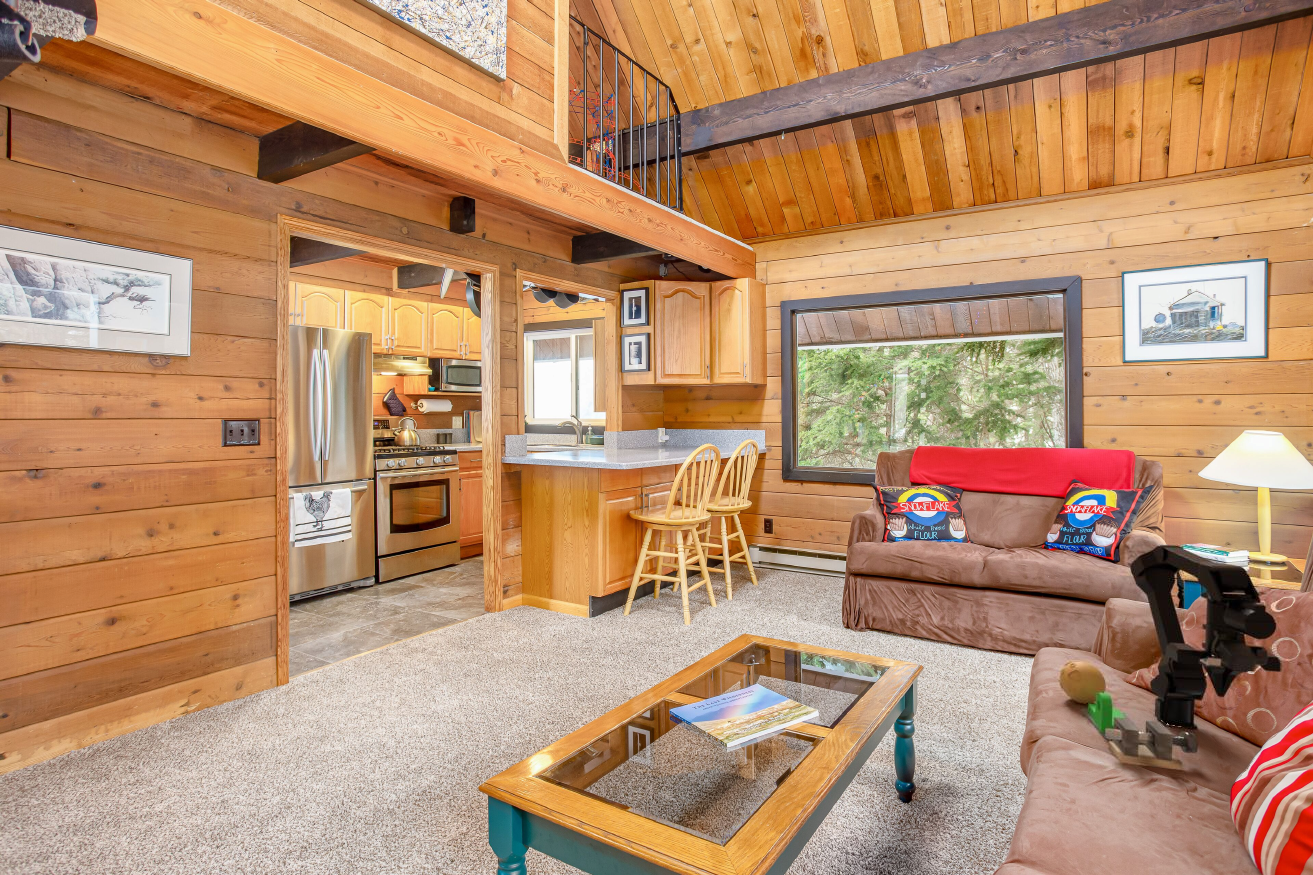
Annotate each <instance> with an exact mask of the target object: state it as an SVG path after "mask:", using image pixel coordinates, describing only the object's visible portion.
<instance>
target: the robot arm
mask: <svg viewBox="0 0 1313 875" xmlns="http://www.w3.org/2000/svg"><path fill="white" fill-rule="evenodd" d="M1129 568H1130V569H1129V571H1130V573H1131V574H1132V577H1133V579H1134V582H1135V585H1136V586H1137V587H1138V588H1139V589H1140V590H1141V591H1142V592H1143V593H1144V594H1145V595H1146V598H1147V600H1148V601H1147V602H1148V605H1149V609H1150V613H1151V617H1152V619H1153V623H1154V627H1155V631H1156V635H1157V639H1158V642H1159V646H1160V650H1161V654H1162V656H1161V658H1160V661H1159V663H1158V666H1157V670H1158V671H1157V672H1158V674H1157V675H1156V676H1155V677H1154V678H1152V680H1150V682H1149V683H1150V689H1151V690H1150V691H1151V692H1152V693H1154V694H1155V695H1156V696H1157V697H1156V698H1155V700H1154V701H1155V702H1154V712H1155V715H1156V716H1157V717H1158V718H1159V719H1160V720H1162V721H1163V722H1164V723H1165V724H1167V723H1168V724H1169V725H1175V726H1181V727H1180V728H1185V727H1186V728H1187V729H1195V730H1196V729H1197V730H1198V727H1199V726H1198V725H1196V724H1195V706H1196V701H1200V702H1201V701H1203V698H1204V696H1205V693H1206V690H1207V687H1208V682H1207V676H1208V677H1209V680H1210V682H1211V685H1212V686H1213V689H1214V692H1215V694H1216V696H1218V698H1225V696H1226V694H1227V693H1228V691H1229V689H1230V687H1231V686H1232V684H1233V682H1234V680H1235V679H1236V678H1237V676H1239V675H1242V674H1244V673H1245V674H1246V673H1249V672H1254V671H1255V669H1256V666H1259V667H1261V669H1262V670H1263V671H1267V672H1277V673H1281V672H1282V668H1283V666H1282V665H1283V664H1282V661H1281V659H1280V658H1279V657H1278V656H1276V655H1274V654H1272V653H1270V652H1269V651H1268V649H1267V648H1266V647H1264V646H1259V645H1247V643H1246V636H1249V637H1250V638H1253V639H1256V640H1266V639H1269V638H1270V637H1272V636H1273V635H1274V634H1275V632H1276V629H1277V622H1276V620H1275V618H1274V616H1273V615H1272V614H1270V613H1269V612H1267V610H1266V609H1267V608H1266V605H1265V604H1261V599H1260V596H1259V595H1260V593H1259V592H1258V590H1257V589H1256V587H1255V586H1254V584H1253V581H1252V579H1251V577H1250V574H1248V572H1247V570H1246V569H1245V568H1244V567H1243V566H1240V565H1236V564H1230V563H1223V562H1222V563H1220V562H1219V563H1218V562H1215V561H1212V560H1210V559H1208V558H1204V557H1202V556H1200V555H1198V554H1196V553H1194V552H1191V551H1189V550H1187V549H1185V548H1184V547H1182V546H1180V545H1176V544H1159V545H1157V546H1155V547H1154V548H1153V549H1152V550H1150V551H1147V552H1145V553H1143V554H1140V555H1138V556H1137V557H1136V558H1135V559H1134V560H1133V561H1132V563H1131V564H1130V567H1129ZM1180 571H1182V572H1184V573H1187V574H1188V575H1191V576H1192V577H1195V579H1197V584H1199V585H1200V586H1201V587H1202V588H1203V589H1205V590H1206V591H1204V592H1202V593H1200V597H1201V598H1204V599H1206V614H1205V616H1206V617H1205V623H1203V624H1202V629H1203V630H1205V642H1201V647H1202V648H1203V649H1196V648H1194V647H1193V646H1191V645H1190V644H1188V643H1186V641H1185V637H1184V634H1183V631H1182V628H1181V624H1180V621H1179V617H1178V614H1177V610H1176V606H1175V603H1174V599H1173V596H1172V590H1173V588H1174V585H1175V584H1176V576H1175V575H1177V574H1178V573H1179V572H1180ZM1245 635H1246V636H1245ZM1204 670H1205V672H1206V674H1207V676H1206V674H1205V672H1204ZM1155 715H1154V716H1155ZM1156 716H1155V717H1156ZM1157 717H1156V718H1157ZM1158 718H1157V719H1158ZM1159 719H1158V720H1159ZM1160 720H1159V721H1160ZM1162 721H1161V722H1162ZM1163 722H1162V723H1163ZM1164 723H1163V724H1164ZM1165 724H1164V725H1165ZM1175 726H1174V727H1175Z"/></svg>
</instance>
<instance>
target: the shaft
mask: <svg viewBox="0 0 1313 875" xmlns="http://www.w3.org/2000/svg"><path fill="white" fill-rule="evenodd" d="M1105 735H1106V738H1108V739H1117V740H1122V731H1121V730H1118V729H1109V728H1106V729H1105ZM1139 742H1143V743H1152V744H1155V734H1154V733H1146V731H1145V732H1143V731H1142V732H1139ZM1172 747H1180V749H1181V751H1182V752H1183V753H1187V754H1197V752H1198V748H1199V747H1198V740H1197V737H1196V735H1195V734H1194V733H1193V732H1190V731H1189V732H1188V731H1180V732H1179V734H1178V735H1173V743H1172Z"/></svg>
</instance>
